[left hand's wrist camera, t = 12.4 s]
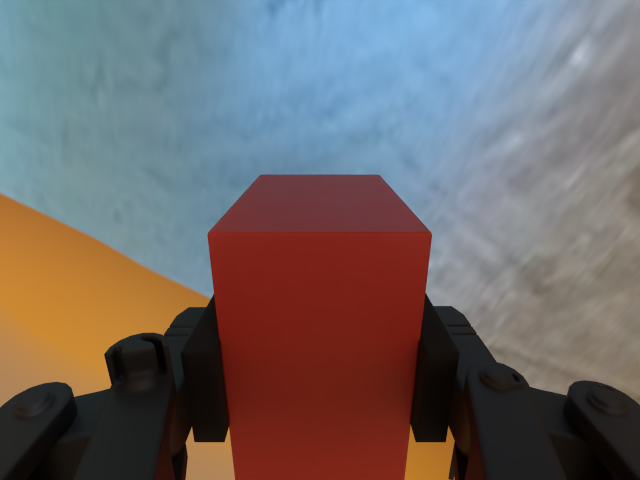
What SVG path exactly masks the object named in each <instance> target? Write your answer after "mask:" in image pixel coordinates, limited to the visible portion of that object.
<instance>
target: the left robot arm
mask: <svg viewBox="0 0 640 480" xmlns="http://www.w3.org/2000/svg"><path fill="white" fill-rule="evenodd" d="M104 356H105V359H106V364H107V368H108V372H109V376H110V380H111V384H112V385H111V388H110V389H106V390H103V391H99V392H95V393H90V394H85V395H81V396H77V397H74V395H73V392H72V389H71V387H70V386H68V385H67V384H66V383H60V382H52V383H44V384H41V385H37V386H34V387H31V388H29V389H27V390H25V391H23V392H21V393H19V394H17V395H15V396H14V397H13V398H11V399H10V400H9V401H8V402H6V403H5V404H4V405H3V406H2V407H0V480H185V477H186V468H187V458H188V456H187V449H186V443H185V442H186V440H187V437H188V435H189V432H190V430H191V427H192V429H193V435H194V441H195V442H225V438H226V435H227V431H228V428H229V418H228V409H227V400H226V391H225V382H224V374H223V365H222V356H221V347H220V339H219V331H218V323H217V314H216V305H215V296H214V295H213V297H212V299H211V300H210V302H209V304H208V306H207V307H189V308H187V309H186V310H184V311H183V312H182V313H180V314H179V315H177V316H176V318H175V319H174V321H173V322H172V323H171V325H170V328H168V329H167V331H166V332H165V334H164V336H163V335H161V334H157V333H141V334H137V335H132V336H129V337H127V338H125V339H122V340H120V341H118V342H117V343H115V344H114V345H113V346H111V347H110V348H109V349H108V350H107V352H106V353H105V354H104ZM448 425H449V428H450V430H451V432H452V435H453V437H454V440H455V443H454V449H453V455H452V461H451V466H450V472H449V479H450V480H453V479H454V477H455V480H640V405H639V404H638V403H637V402H635V401H634V400H633V399H632V398H630V397H629V396H628V395H626V394H625V393H623V392H621V391H619V390H617V389H615V388H613V387H611V386H608V385H605V384H602V383H599V382H593V381H585V380H584V381H578V382H574V383H573V384H572V385H571V386H569V390H568V393H567V396H566V395H562V394H557V393H553V392H548V391H544V390H539V389H536V388H532V387H529V384H528V383H527V381H526V380H525V379H524V377H523V376H522V375H521V374H519V373H518V372H517V371H516V370H514V369H512V368H510V367H508V366H506V365H504V364H501V363H497V362H496V360H495V359H494V358H493V356H492V355H491V353H490V352H489V350H488V349H487V347H486V346H485V345H484V343H483V342H482V340H481V339H480V337H479V336H478V335H477V334H476V332H475V330H474V329H473V327H471V325H470V323H469V322H468V320H467V319H466V317H465V316H464V315H463V314H462V313H460V312H459V311H458V310H456V309H455V308H453V307H452V306H433V305H432V303H431V302H430V300H429V298H428V296H427V295H426V293H425V300H424V309H423V318H422V327H421V336H420V344H419V353H418V362H417V371H416V380H415V388H414V397H413V406H412V415H411V427H412V430H413V434H414V437H415V441H416V442H446V437H447V430H448Z"/></svg>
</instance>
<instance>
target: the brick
mask: <svg viewBox="0 0 640 480" xmlns="http://www.w3.org/2000/svg"><path fill="white" fill-rule="evenodd" d="M431 238H432V234H431V232H430V231H429V230H428V229H427V227H426V226H425V225H424V224H423V223H422V222H421V221H420V220H419V219H418V217H417V216H416V215H415V214H414V213H413V212H412V211H411V210H410V209H409V207H408V206H407V205H406V204H405V203H404V202H403V201H402V200H401V199H400V197H399V196H398V195H397V194H396V193H395V192H394V191H393V190H392V189H391V187H390V186H389V185H388V184H387V183H386V182H385V181H384V180H383V179H382V177H381V176H380V175H260V176H259V177H258V178H257V179H256V180H255V181H254V183H253V184H252V185H251V186H250V187H249V188H248V189H247V190H246V191H245V193H244V194H243V195H242V196H241V197H240V198H239V199H238V200H237V201H236V203H235V204H234V205H233V206H232V207H231V208H230V209H229V210H228V211H227V213H226V214H225V215H224V216H223V217H222V218H221V219H220V220H219V221H218V222H217V224H216V225H215V226H214V227H213V228H212V229H211V230H210V231H209V232H208V243H209V252H210V261H211V270H212V278H213V287H214V296H215V305H216V314H217V323H218V331H219V339H220V347H221V356H222V365H223V374H224V382H225V391H226V400H227V409H228V418H229V428H230V437H231V446H232V455H233V464H234V473H235V480H404V477H405V468H406V459H407V451H408V442H409V433H410V424H411V415H412V406H413V397H414V388H415V380H416V371H417V362H418V353H419V344H420V336H421V327H422V318H423V309H424V300H425V291H426V283H427V274H428V265H429V256H430V247H431Z"/></svg>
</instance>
